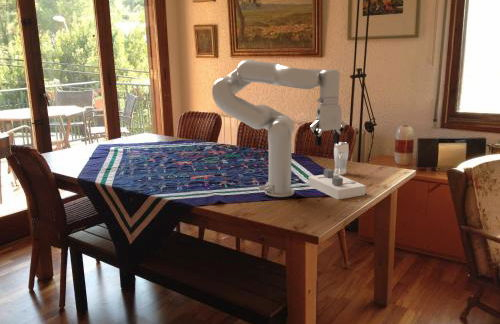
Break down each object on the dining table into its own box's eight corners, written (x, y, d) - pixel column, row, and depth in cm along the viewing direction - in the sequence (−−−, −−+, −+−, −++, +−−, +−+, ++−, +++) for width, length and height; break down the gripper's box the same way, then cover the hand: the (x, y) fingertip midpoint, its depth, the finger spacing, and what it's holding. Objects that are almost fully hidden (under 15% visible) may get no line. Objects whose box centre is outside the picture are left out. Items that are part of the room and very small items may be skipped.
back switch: (327, 177, 202) (328, 171, 201) (323, 175, 205) (323, 169, 204) (333, 176, 203) (333, 170, 202) (329, 174, 206) (329, 168, 205)
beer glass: (347, 175, 220) (349, 145, 217) (332, 174, 222) (334, 144, 218) (347, 171, 227) (348, 142, 223) (333, 171, 228) (334, 141, 225)
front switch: (336, 185, 190) (337, 179, 189) (332, 183, 192) (332, 177, 192) (342, 184, 191) (342, 178, 190) (337, 182, 194) (338, 176, 193)
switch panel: (337, 199, 186) (338, 189, 185) (308, 185, 205) (308, 176, 204) (364, 194, 192) (365, 185, 191) (333, 181, 211) (334, 172, 210)
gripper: (315, 103, 174) (314, 148, 178) (352, 101, 181) (350, 144, 185) (305, 101, 180) (303, 144, 185) (341, 99, 188) (339, 141, 192)
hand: (327, 144), depth 185 cm, fingers open, 7 cm apart
